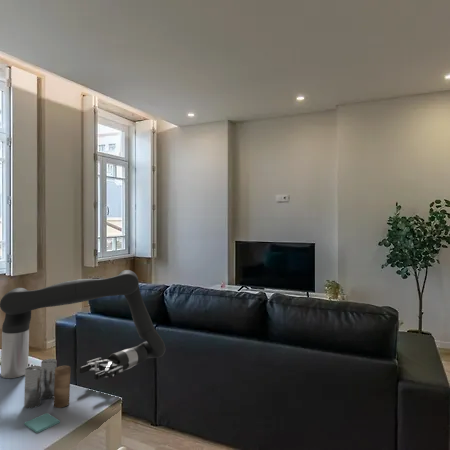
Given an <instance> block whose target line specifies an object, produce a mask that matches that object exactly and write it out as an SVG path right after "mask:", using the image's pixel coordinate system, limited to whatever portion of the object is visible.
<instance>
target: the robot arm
mask: <svg viewBox="0 0 450 450" xmlns="http://www.w3.org/2000/svg"><path fill="white" fill-rule="evenodd" d="M139 283H140V282H139V277H138V274H136V273H135V272H134V271H132V270H130V269H125V270H122V271H121V272H120V273H118V275H115V276H112V277H111V276H110V277H107V278H106V277H105V278H100V279H99V278H97V279H96V278H80V279H72V280H67V281H62V282H59V283H54V284H52V285H49V286H46V287H43V288H39V289H32V290H28V289H26V288H24V287H16V288H13V289H11V290H10V291H8V292H7V293H5V294H4V295H3V296H2V298H1V299H0V309H1V311H2V312H3V313H5V314H4V315H5V316H4V319H3V323H2V326H1V327H2V329H1V354H0V377H1V378H3V379H17V378H20V377H23V376H25V369H26V368H28V367H29V348H30V343H29V342H30V326H31V325H30V324H31V318H32V311H35V310H38V309H43V308H49V307H50V308H51V307H52V308H53V307H58V306H59V307H60V306H67V305H72V304H73V305H75V304H77V303H78V304H79V303H82V302H83V303H84V302H88V301H92V300H96V299H100V298H101V299H102V298H106V297H113V296H115V297H117V296H124V298H125V299H126V302H127V304H128V306H129V310H130V313H131V318H132V320H133V324H134V327H135V329H136V332H137V334H138V336H139V338H140V339H141V340H144V341H143V342H141V343H140V344H138V345H136V346H133V347H130V348H125V349H123V350H119V351H117V352H113V353H111V354H109V356H108V357H107V359H102V357H97V358H94V359H91V360H87V361H86V365H83V366H80V367H79V374H83V373H87V372H90V371H94V372H95V373H94V378H93V379H94V381H97V380H101V379H103V378H108V379H113V378H116V377H117V376H120V375H121V374H123V373H124V371H127V370H129V369H132V368H133V367H134V366H137V365H139V364H142V363H143V362H145V361H146V360H147V359H151V358H152V359H153V358H154V359H155V358H157V359H158V358H161V357H163V356H164V355H165V352H166V345H165V342H164V340H163V338H162V337H161V336H160V335H159V333H158V331H157V330H156V329H155V325H154V324H153V321H152V319H151V318H152V317H151V316H150V314H149V312H148V309H147V307H146V304H145V303H144V302H145V301H144V300H143V297H142V294H141V290H140V285H139Z"/></svg>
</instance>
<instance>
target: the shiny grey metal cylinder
mask: <svg viewBox="0 0 450 450" xmlns="http://www.w3.org/2000/svg"><path fill="white" fill-rule="evenodd" d="M40 363H41V365H40V366H41V367H42V372H41V399H43V400H47V399H51V398H54V382H55V368H56V367H57V363H58V362H57V359H56V358H47V359H44V360H42V361H41V362H40Z"/></svg>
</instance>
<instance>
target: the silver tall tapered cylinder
mask: <svg viewBox="0 0 450 450" xmlns="http://www.w3.org/2000/svg"><path fill="white" fill-rule="evenodd" d="M41 372H42V367H41V365H31V366H28V368H26V369H25V375H24V397H23V398H24V399H23V407H24V408H25V409H34V408H37V407H39V406H40V405H41V403H42V402H41V401H42V400H41V399H42V398H41Z"/></svg>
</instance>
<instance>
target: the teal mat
mask: <svg viewBox="0 0 450 450" xmlns="http://www.w3.org/2000/svg"><path fill="white" fill-rule="evenodd" d="M60 422H61V421H60V420H59V419H58V418H57V417H55V416H53V415H51V414H49V413H48V412H46V413H44V414H41V415H39V416H37V417H35V418H33V419H30V420H28V421H25V422H24V426H25V427H26V428H29V429H30V430H31V431H33V432H35V433H36V434H38V433H40V432H43V431H44V430H46V429H50V428H51V427H53V426H56V425H58V424H60Z"/></svg>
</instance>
